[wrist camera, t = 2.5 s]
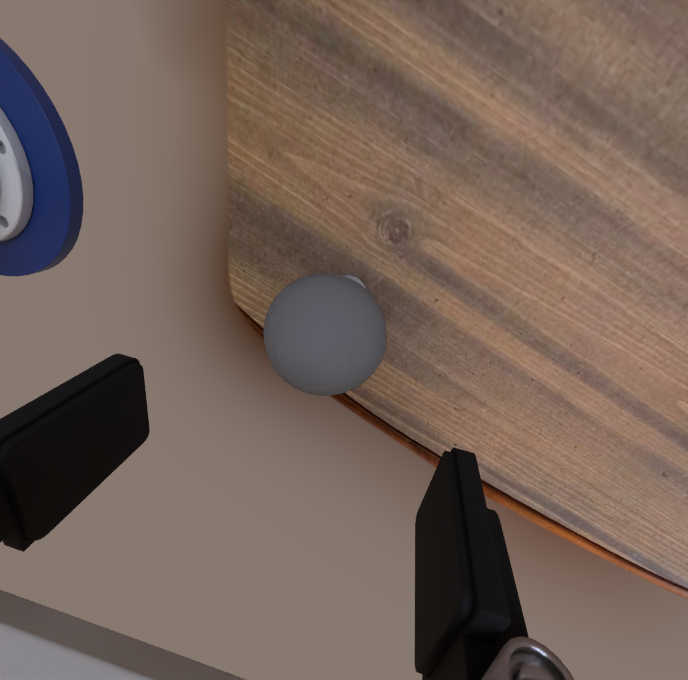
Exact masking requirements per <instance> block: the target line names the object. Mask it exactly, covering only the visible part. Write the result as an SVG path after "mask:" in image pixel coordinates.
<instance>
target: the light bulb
mask: <svg viewBox="0 0 688 680" xmlns="http://www.w3.org/2000/svg"><path fill="white" fill-rule="evenodd" d="M386 338H387V333H386V324H385V319H384V316H383V313H382V310H381V309H380V307H379V305H378V303H377V301H376V300H375V298H374V297H373V296H372V295H371V294H370V292H369V291H368V290H367V289H366V287H365V285H364V284H363V282H362V281H361V280H360V279H358V278H357V277H355V276H351V275H344V276H341V275H338V274H328V273H322V274H312V275H309V276H306V277H303V278H300V279H298V280H296V281H294V282H293V283H291V284H289V285H288V286H287V287H286V288H284V289H283V290H282V291H281V292H280V293H279V294H278V295H277V296H276V298H275V299H274V300H273V302H272V303H271V305H270V308H269V310H268V313H267V315H266V319H265V325H264V343H265V348H266V352H267V355H268V357H269V360H270V361H271V364H272V365H273V367H274V368H275V370H276V371H277V373H278V374H279V375H280V376H281V377H282V378H283V379H284V380H285V381H286V382H287V383H289V384H290V385H292V386H293V387H295V388H297V389H299V390H301V391H303V392H306V393H309V394H314V395H336V394H341V393H344V392H347V391H349V390H352V389H354V388H356V387H358V386H359V385H361V384H362V383H364V382H365V381H366V380H367V379H368V378H369V377H370V376H371V375H372V374H373V373H374V372H375V370H376V369H377V367H378V365H379V364H380V362H381V360H382V357H383V355H384V352H385V346H386Z"/></svg>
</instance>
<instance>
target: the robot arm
mask: <svg viewBox="0 0 688 680" xmlns="http://www.w3.org/2000/svg"><path fill="white" fill-rule="evenodd" d="M32 207H33V182H32V175H31V170H30V166H29V163H28V160H27V157H26V153H25V151H24V148H23V146H22V144H21V142H20V140H19V137H18V135H17V133H16V131H15V129H14V128H13V126H12V124H11V123H10V121H9V119H8V118H7V116H6V114H5V113H4V112H3V110H2V109H1V108H0V242H1V241H6V240H10V239H12V238H13V237H15V236H17V235H18V234H19V233H20V232H21V231H22V230H23V229H24V228H25V227H26V225H27V223H28V221H29V219H30V217H31V212H32ZM148 435H149V420H148V411H147V401H146V392H145V382H144V372H143V367H142V366H141V365H140V363H139V361H138V360H137V359H136V358H132V357H129V356H125V355H122V354H115V355H112V356H110V357H108V358H107V359H105V360H103V361H102V362H100V363H98V364H96V365H94V366H93V367H91V368H89V369H87V370H86V371H84V372H82V373H80V374H79V375H77V376H75V377H73V378H72V379H70V380H68V381H66V382H65V383H63V384H61V385H59V386H57V387H56V388H54V389H52V390H50V391H49V392H47V393H45V394H44V395H42V396H40V397H38V398H36V399H35V400H33V401H31V402H29V403H28V404H26V405H24V406H22V407H21V408H19V409H17V410H15V411H14V412H12V413H10V414H8V415H6V416H5V417H3V418H1V419H0V542H1V541H3V543H4V545H6V546H9V547H12V548H15V549H17V550H20V551H25V550H26V549H27V548H28V547H29V546H30V545H31V544H32V543H33V542H34V541H35V540H39V539H41V538H43V537H45V536H46V535H47V534H48V533H49V532H50V531H51V530H53V529H54V528H55V527H56V526H57V525H58V524H59V523H60V522H61V521H62V520H63V519H64V518H65V517H66V516H67V515H68V514H69V513H70V512H71V511H72V510H73V509H74V508H76V507H77V506H78V505H79V504H80V503H81V502H82V501H83V500H84V499H85V498H86V497H87V496H88V495H89V494H90V493H91V492H92V491H93V490H94V489H96V487H97V486H99V485H100V484H101V483H102V482H103V481H104V480H105V479H106V478H107V477H108V476H109V475H110V474H111V473H112V472H113V471H114V470H115V469H116V468H118V466H120V465H121V464H122V463H123V462H124V461H125V460H126V459H127V458H128V457H129V456H130V455H131V454H132V453H133V452H134V451H135V450H136V449H137V448H138V447H140V446H141V445H142V444H143V443H144V441H145V440H146V439H147V437H148ZM415 668H416V671H417V672H418V673H421V674H422V676H423V677H422V680H574V678H573V677H572V675H571V673H570V672H569V670H568V669H567V668H566V666H565V665H564V664H563V663H562V662H561V660H560V659H559V658H558V657H557V656H556V655H555V654H554V653H553V652H551V651H550V650H549V649H548V648H547V647H546V646H544V645H542V644H541V643H539V642H537V641H535V640H534V639H531V638H529V637H528V633H527V629H526V625H525V621H524V617H523V613H522V608H521V605H520V601H519V596H518V592H517V589H516V584H515V580H514V576H513V572H512V568H511V564H510V560H509V556H508V552H507V547H506V543H505V539H504V536H503V531H502V527H501V523H500V519H499V517H498V514H497V513H496V512H495V511H494V510H491V509H488V508H487V507H486V502H485V497H484V492H483V488H482V483H481V478H480V474H479V469H478V464H477V460H476V456H475V454H474V453H471V452H468V451H464V450H460V449H457V448H453V449H452V450H451V451H450V452H448V451H445V452H444V453H443V455H442V457H441V459H440V462H439V464H438V466H437V469H436V471H435V473H434V476H433V478H432V480H431V482H430V485H429V487H428V489H427V491H426V494H425V496H424V499H423V500H422V503H421V505H420V508H419V510H418V512H417V516H416V523H415ZM0 680H245V679H243V678H240V677H237V676H235V675H232V674H229V673H227V672H224V671H221V670H218V669H216V668H213V667H210V666H207V665H205V664H202V663H200V662H197V661H194V660H191V659H189V658H186V657H184V656H181V655H178V654H175V653H173V652H170V651H167V650H164V649H162V648H159V647H156V646H154V645H151V644H148V643H145V642H143V641H140V640H137V639H134V638H132V637H129V636H126V635H124V634H120V633H118V632H115V631H113V630H110V629H107V628H104V627H102V626H99V625H96V624H93V623H91V622H88V621H85V620H82V619H80V618H77V617H74V616H71V615H69V614H66V613H63V612H60V611H58V610H55V609H52V608H49V607H46V606H43V605H41V604H38V603H35V602H33V601H30V600H27V599H24V598H21V597H18V596H16V595H13V594H10V593H7V592H4V591H2V590H0Z"/></svg>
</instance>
